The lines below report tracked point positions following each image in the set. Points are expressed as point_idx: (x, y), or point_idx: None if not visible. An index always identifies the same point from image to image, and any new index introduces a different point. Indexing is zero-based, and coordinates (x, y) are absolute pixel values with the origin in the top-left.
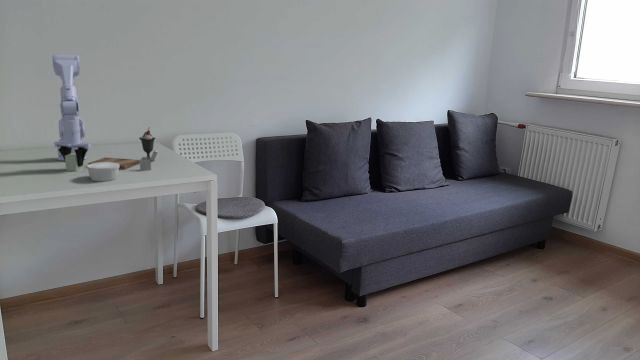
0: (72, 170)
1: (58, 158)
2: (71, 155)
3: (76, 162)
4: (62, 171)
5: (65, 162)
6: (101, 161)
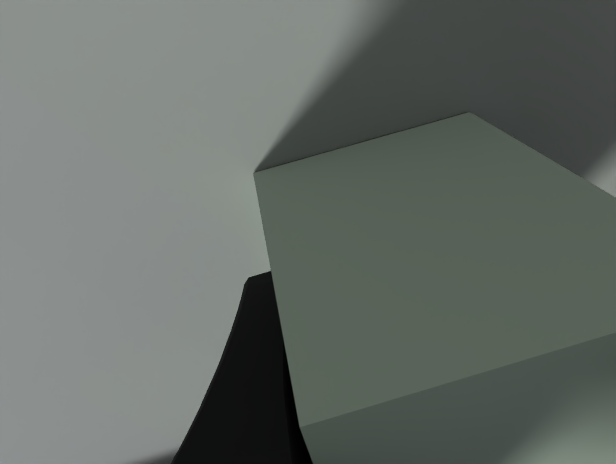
0: (342, 151)
1: None
2: (540, 416)
3: (275, 287)
4: (481, 10)
5: None
6: None
